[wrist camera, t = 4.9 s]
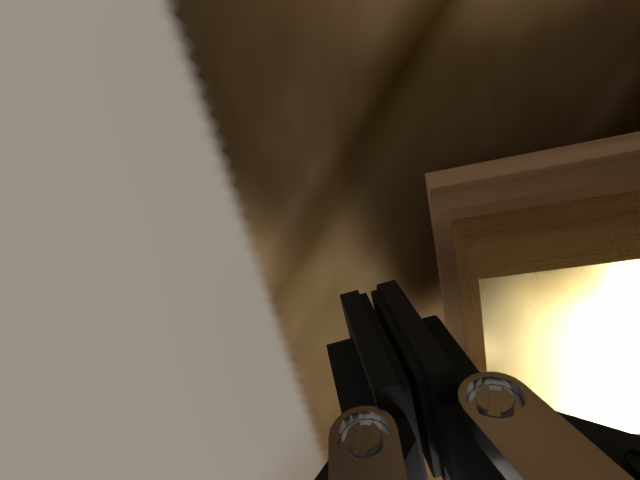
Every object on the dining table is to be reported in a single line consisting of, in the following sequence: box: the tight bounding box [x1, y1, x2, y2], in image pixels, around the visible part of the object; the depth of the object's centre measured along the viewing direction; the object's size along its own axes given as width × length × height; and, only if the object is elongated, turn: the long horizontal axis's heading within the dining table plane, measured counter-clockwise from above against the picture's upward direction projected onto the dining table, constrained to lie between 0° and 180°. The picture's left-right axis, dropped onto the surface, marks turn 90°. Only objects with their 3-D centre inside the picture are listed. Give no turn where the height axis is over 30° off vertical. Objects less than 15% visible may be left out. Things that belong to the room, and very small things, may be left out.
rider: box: [451, 190, 640, 434], centre depth 10 cm, size 5×6×4 cm
